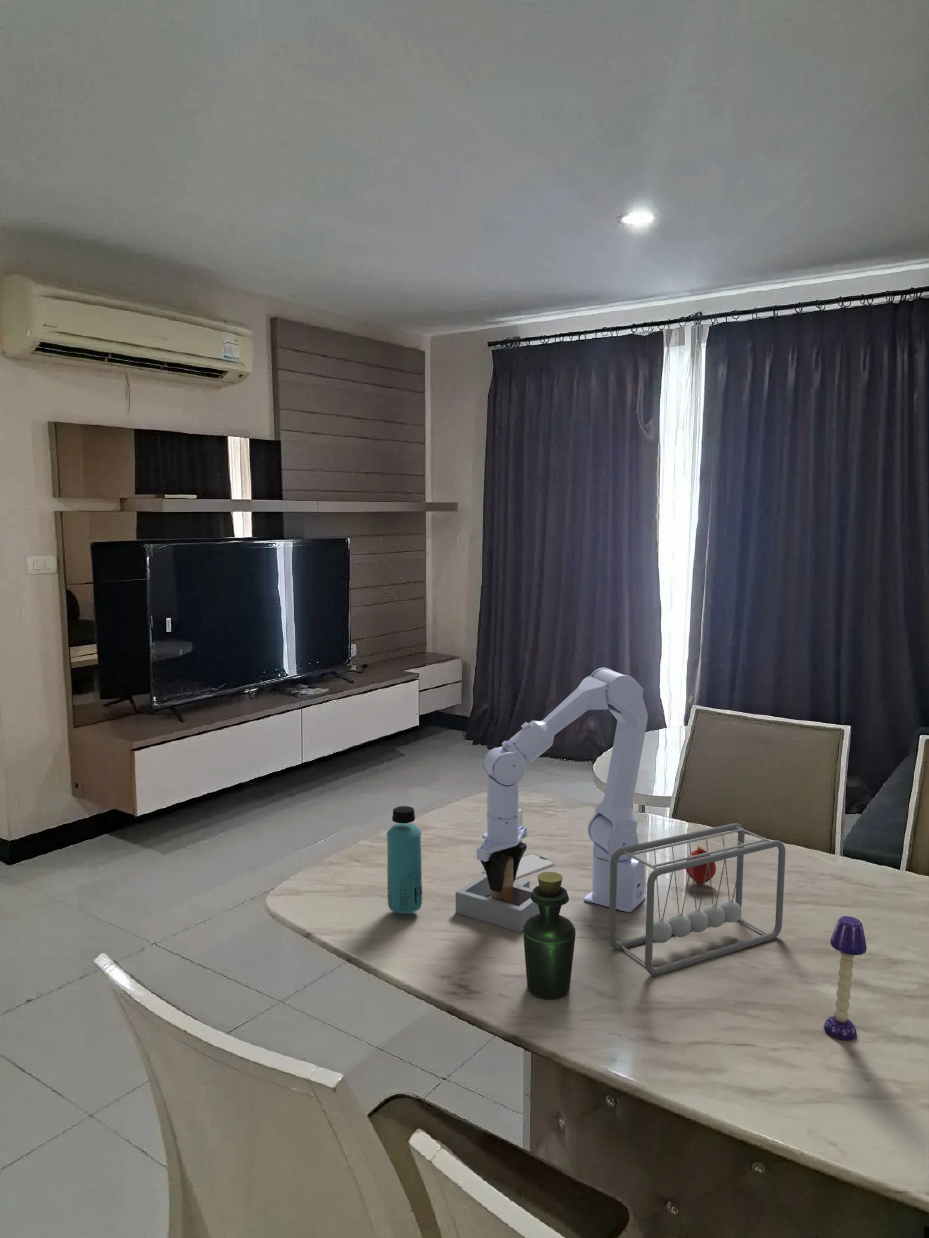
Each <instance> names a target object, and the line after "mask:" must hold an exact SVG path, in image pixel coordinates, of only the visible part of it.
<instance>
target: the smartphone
mask: <svg viewBox="0 0 929 1238" xmlns="http://www.w3.org/2000/svg"><path fill="white" fill-rule="evenodd" d="M555 865H556V862H555V861H553V860H550V859H549V858H545V857H543V856H542V855H541V856H540V855H539V854H537V853H528V854H526V855H523V856H522V858H521V860H520V863H519V866H518V870H517V874H516V878H515V881H516V880H518V879H520V878H523V877H526V876H530V875H532V874H534V873H537V872H540V871H542V870H543V871H544V870H546V869H549V868H552V867H554V866H555ZM485 873H486V872H485V869H483V870H482V874H485Z"/></svg>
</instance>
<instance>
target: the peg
mask: <svg viewBox="0 0 929 1238" xmlns="http://www.w3.org/2000/svg"><path fill="white" fill-rule="evenodd" d="M501 856H505V857H509V860H508V862H507V865H506V868H505V872H504V880H503V888H502V891H501V892H496V891H492V890H491V894H490V898H491V899H494V900H498V901H501V902H505V903H508V904H512V905H513V887H514V883H513V857H511V856H508V855H501Z"/></svg>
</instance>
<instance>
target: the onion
mask: <svg viewBox="0 0 929 1238" xmlns="http://www.w3.org/2000/svg"><path fill="white" fill-rule="evenodd" d="M697 846H698V847H697V849H695V850H693V851H691V856H695V855H699V854H703V853H707V851H705V850H706V849H705V850H703V849H704V847H703V846H702V845H697ZM699 847H700V848H699ZM701 848H703V849H701ZM706 856H708V855H706ZM687 857H690V854H689V855H688V856H687ZM701 857H705V856H701ZM701 857H697V858H701ZM697 858H693V859H697ZM689 860H691V859H689ZM685 861H688V860H685ZM707 864H708V863H707ZM707 864H703V865H699V866H695V867H693V877H692V867H691V871H690V868H687V869H685V871H686V873H687V875H688V876H689V871H690V876H689V878H691V880H693V878H694V883H695V884H697V885H699V886H701V885H704V880H705V874H706V869H707ZM709 865H710V875H711V880H712V879H713V878H714V876H715V875H716V872H717V865H716V862H711V863H709V864H708V869H707V874H706V880H705V884H706V883H708V882H710V875H709Z"/></svg>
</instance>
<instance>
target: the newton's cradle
mask: <svg viewBox="0 0 929 1238" xmlns="http://www.w3.org/2000/svg"><path fill="white" fill-rule="evenodd" d="M733 833H737V840H735V839H732V838H731V837H729V836H727V835H729V834H733ZM745 834H748V835H751V836H752V837H756V838H758V839H760V840H755V841H752V842H751V841H750V842H746V843H745ZM716 837H717V838H718V837H722V844H720V843H717V842H715V841H712V840H710V839H712V838H716ZM724 838H727V839H730V840H731V841H734V842H737V845H734V846H731V847H727V846H725V839H724ZM703 840H705V842H706V849H703V848H704V847H703V848H701V849H703V850H705V851H707V853H703V854H699V855H695V856H691V853H692V850H691V849H692V848H691V845H693V846H696V847H697V848H698V846H699V845H696V844H694V842H697V841H703ZM708 841H709V842H712V843H713V844H716V845H718V846H720V847H723V848H721V849H717V850H712V851H709V848H708V846H709V845H708ZM685 844H688V845H689V846H688V847H689V853H687V852H684V851H683V850H680V849H679V848H677V846H680V845H685ZM667 848H671V852H672V858H671V857H668V856H667V855H665V854H663V853H661V852H659V851H658V850H663V849H667ZM699 848H700V847H699ZM773 848H777V849H778V854H777V855H778V856H777V857H778V860H777V875H776V876H777V879H776V880H777V881H776V882H777V883H776V899H775V900H776V901H775V903H776V904H775V921H774V922H775V924H774V927H773V929H772V931H771V932H769V933H768V932H767V931H764V930H762V929H761V928H760V927H757V926H755V925H753V924H751V923H749V922H748V921H746V920H744V919H742V918H741V917H742V904H743V903H742V902H743V881H744V880H743V879H744V855H747V854H752V853H756V852H760V851H766V850H769V849H773ZM674 849H676V850H678V851H680V852H683V853H684V854H686V855H688V856H689V855H690V857H688V856H686V857H683V858H677V859H675V855H674V854H675V853H674ZM632 852H634V853H632ZM649 852H654V854H653V855H654V864H653V865H652V864H651V863H648V862H646V861H645V860H643V859H641V858H639V857H637V856H636V855H640V854H645V853H649ZM656 853H658V854H659V855H662V856H664V857H666V858H668V859H670V861H665V862H661V863H657V857H656ZM623 854H627V855H628V856H630V857H632V858H634V859H636V860H638V861H640V862H641V863H643V864H644V865H645V866H647V867H649V868H651V869H653V870H652V871H651V872H650V873H649V876H648V878H647V881H646V909H645V910H646V911H645V914H646V915H645V935H644V934H643V935H641V936H638V937H634V938H631V939H627V940H624V941H623V940H622V941H620V942H618V941H616V940H617V939H616V931H617V929H616V928H617V925H616V924H617V909H616V891H617V861H618V859H619V857H620V856H621V855H623ZM706 855H708V856H706ZM701 856H705V857H701ZM697 857H701V858H697ZM736 857H737V858H736ZM693 858H697V859H693ZM731 858H736V876H735V878H736V880H735V885H734V889H733V894H732V898H731V899H730V890H729V889H730V887H729V879H728V870H727V869H728V868H727V859H731ZM689 859H691V860H689ZM686 860H688V861H686ZM719 861H723V867H722V869H721V875H720V881H719V886H718V890H717V891H718V892H717V897H716V902H715V903H714V898H713V897H714V896H713V888H712V879H711V875H710V865H709V875H710V880H709V884H710V893H711V903H712V904H708V905H707V906H706V907H704V910H702V909H701V906H702V899H703V895H704V890H705V884H706V883H705V880H706V874H707V869H708V864H709V863H711V862H715V863H716V862H719ZM707 863H708V864H707ZM703 864H707V869H706V874H705V880H704V884H702V885H703V886H702V890H701V897H700V901H699V905H698V906H699V907H698V908H697V900H696V890H695V889H696V888H695V881H694V878H693V879H692V884H693V886H692V887H693V895H694V904H695V905H694V906H695V908H694V909H692V910H691V909H690V910H689V912H688V913H687V914H686V915H685V914H684V908H685V902H686V897H687V893H688V892H687V891H688V887H689V882H690V871H691V867H692V877H693V867H695V866H699V865H703ZM687 868H690V871H689V875H688V878H687V883H686V889H685V894H684V899H683V905H682V910H681V913H680V909H679V908H680V907H679V905H680V904H679V895H678V887H677V875H676V872H677V871H682V870H686V869H687ZM724 870H725V874H726V886H727V894H728V899H727V900H724V901H723V902H721V904H720V905H717V904H718V900H719V895H720V889H721V884H722V879H723V873H724ZM785 870H786V847H785V845H784V843H783V842H782V841H780V840H778V839H774V840H770V839H768V838H767V837H766V838H765V837H763V836H761V835H759V834H756V833H754V832H751V831H749V830H746V829H744V827H743V826H742V825H741V824H740V823H737V822H735V823H729V824H725V825H720V826H716V827H711V828H706V829H703V830H702V829H701V830H697V831H693V832H688V833H684V834H679V835H673V836H669V837H664V838H660V839H655V840H652V841H646V842H642V843H638V844H636V845H632V846H627V847H622V848H620V849H618V850H616V851H615V852H614V854H613V855H612V858H611V862H610V900H609V907H608V943H609V945H610V946H611V947H612V949H614V950H618V951H619V950H623V951H625V952H626V953H628V954H629V955H630V956H632V957H633V958H635V960H638V961H639V962H641V963H642V964H643V965H644V967H645V970H646V972H647V973H648V974H649V975H652V976H654V977H655V976H661V975H663V974H666V973H669V972H672V971H676V970H679V969H682V968H683V969H684V968H686V967H688V966H691V965H695V964H699V963H701V962H705V961H708V960H712V959H714V958H718V957H721V956H724V955H727V954H731V953H733V952H737V951H740V950H743V949H747V948H749V947H752V946H756V945H760V944H763V943H766V942H770V941H772V940H774V939H776V938H777V937H778V936H779V935H780V933H781V931H782V928H783V915H784V913H783V912H784V891H785V890H784V889H785V874H786V873H785V872H786V871H785ZM669 873H671V875H670V881H669V884H668V890H667V895H666V900H665V905H664V910H663V913H662V914H663V915H662V918H661V912H660V899H659V898H660V897H659V896H660V895H659V885H658V884H659V883H658V877H659V876H661V875H666V874H669ZM673 873H674V881H675V883H674V884H675V890H676V891H675V892H676V901H677V902H676V904H677V913H675V914H674V915H672V916H671V917H670V918H669V921H667V920H664V917H665V912H666V908H667V903H668V899H669V893H670V889H671V885H672V884H671V883H672V878H673ZM655 882H656V884H655ZM655 885H656V893H657V894H656V895H657V906H658V909H657V910H658V917H659V918H657V919H655V920H654V915H655V913H654V909H655ZM734 897H735V898H734ZM734 899H735V900H734ZM738 921H740V922H742V923H743V924H745V925H747V926H749V927H751V928H753V929H755V930H756V931H758V932H759V933H762V935H758V936H755V937H752V938H749V939H746V940H742V941H739V942H736V943H732V944H729V945H726V946H723V947H719V948H716V949H713V950H710V951H706V952H703V953H700V954H696V955H694V956H689V957H687V958H683V959H680V960H677V961H674V962H670V963H667V964H663V965H661V966H660V965H659V966H657V967H654V966H653V946H654V945H653V943H654V941H655V942H656V943H658V944H664V943H666V942H668V941H669V940H670V939H671V937H672V936H675V937H677V938H685V937H687V936H688V935H689V934H690V933H691V931H692V932H695V933H702V932H704V931H705V930H707V928H708V926H709V927H711V928H719V927H721V926H723V924H724V923H725V922H727V923H732V924H733V923H736V922H738ZM642 944H645V945H644V946H645V947H644V949H645V952H644V960H643V959H642V958H641V957H639V956H638V955H637V954H634V953H633V952H632V951H631V950H630V949H628V948H630V947H634V946H637V945H642Z"/></svg>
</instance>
